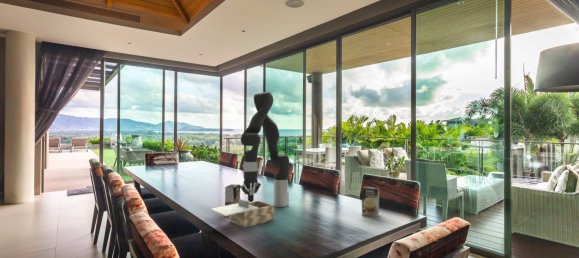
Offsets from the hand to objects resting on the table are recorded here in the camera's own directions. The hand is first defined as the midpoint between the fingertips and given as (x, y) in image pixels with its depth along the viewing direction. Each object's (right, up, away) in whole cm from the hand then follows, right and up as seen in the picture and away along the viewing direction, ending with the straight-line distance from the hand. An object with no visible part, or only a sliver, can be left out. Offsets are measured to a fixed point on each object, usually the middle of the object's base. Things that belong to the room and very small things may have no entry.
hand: (250, 201), depth 160 cm
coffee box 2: (+69, -11, +13) cm, 71 cm away
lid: (-7, -2, -7) cm, 11 cm away
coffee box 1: (-13, -11, +15) cm, 23 cm away
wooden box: (+1, -10, +1) cm, 10 cm away
